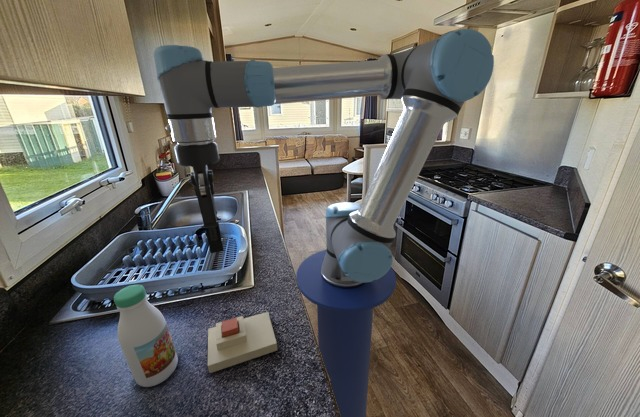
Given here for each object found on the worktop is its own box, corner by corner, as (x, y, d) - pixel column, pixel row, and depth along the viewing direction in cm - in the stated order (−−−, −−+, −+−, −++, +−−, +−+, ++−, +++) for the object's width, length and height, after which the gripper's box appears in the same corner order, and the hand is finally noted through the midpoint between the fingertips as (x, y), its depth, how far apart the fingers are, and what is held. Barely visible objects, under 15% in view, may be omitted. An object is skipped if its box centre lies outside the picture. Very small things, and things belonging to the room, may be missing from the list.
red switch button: (237, 323, 60) (236, 317, 60) (238, 333, 58) (237, 327, 57) (222, 327, 59) (221, 321, 59) (223, 338, 56) (222, 332, 56)
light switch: (268, 318, 66) (267, 305, 65) (277, 350, 57) (276, 336, 56) (209, 335, 62) (206, 322, 60) (209, 373, 53) (205, 359, 51)
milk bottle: (132, 395, 49) (95, 313, 42) (139, 361, 56) (108, 285, 48) (177, 378, 52) (150, 298, 45) (179, 348, 59) (156, 274, 51)
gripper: (177, 139, 54) (199, 240, 63) (168, 148, 42) (197, 270, 51) (216, 137, 56) (232, 234, 65) (217, 145, 45) (237, 261, 54)
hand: (217, 250), depth 58 cm, fingers closed
